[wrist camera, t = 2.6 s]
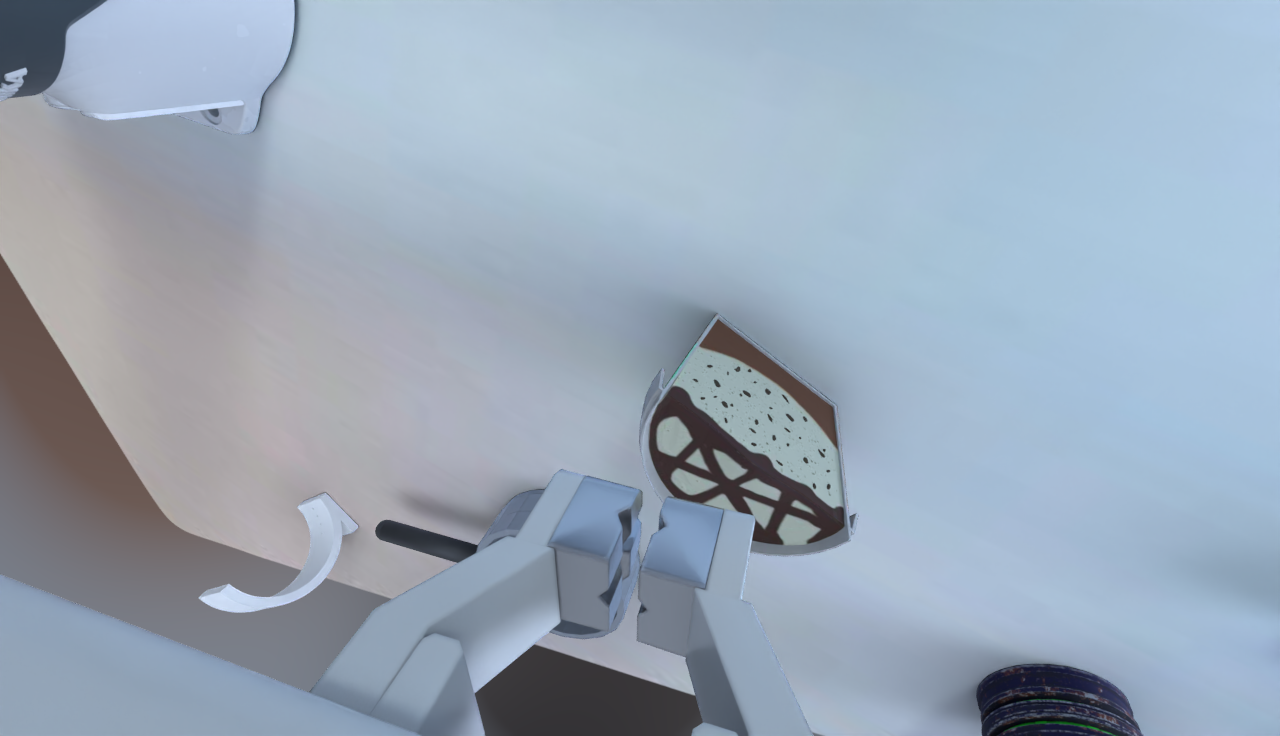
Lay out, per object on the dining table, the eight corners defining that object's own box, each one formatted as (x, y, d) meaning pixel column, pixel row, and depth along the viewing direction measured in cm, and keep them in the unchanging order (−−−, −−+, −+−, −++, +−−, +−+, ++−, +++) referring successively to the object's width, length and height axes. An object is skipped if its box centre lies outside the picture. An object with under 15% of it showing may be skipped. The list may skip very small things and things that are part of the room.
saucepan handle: (386, 527, 52) (373, 542, 50) (382, 513, 51) (368, 528, 49) (501, 560, 49) (490, 577, 48) (498, 546, 48) (488, 563, 47)
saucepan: (509, 572, 55) (485, 612, 51) (493, 474, 47) (464, 512, 44) (638, 610, 52) (622, 656, 48) (642, 511, 44) (624, 556, 41)
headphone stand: (325, 492, 57) (220, 591, 47) (365, 533, 59) (272, 637, 49) (302, 501, 59) (197, 597, 50) (342, 540, 61) (248, 640, 52)
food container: (642, 362, 37) (585, 462, 29) (697, 297, 33) (650, 391, 25) (787, 470, 38) (771, 595, 30) (855, 420, 34) (859, 547, 26)
